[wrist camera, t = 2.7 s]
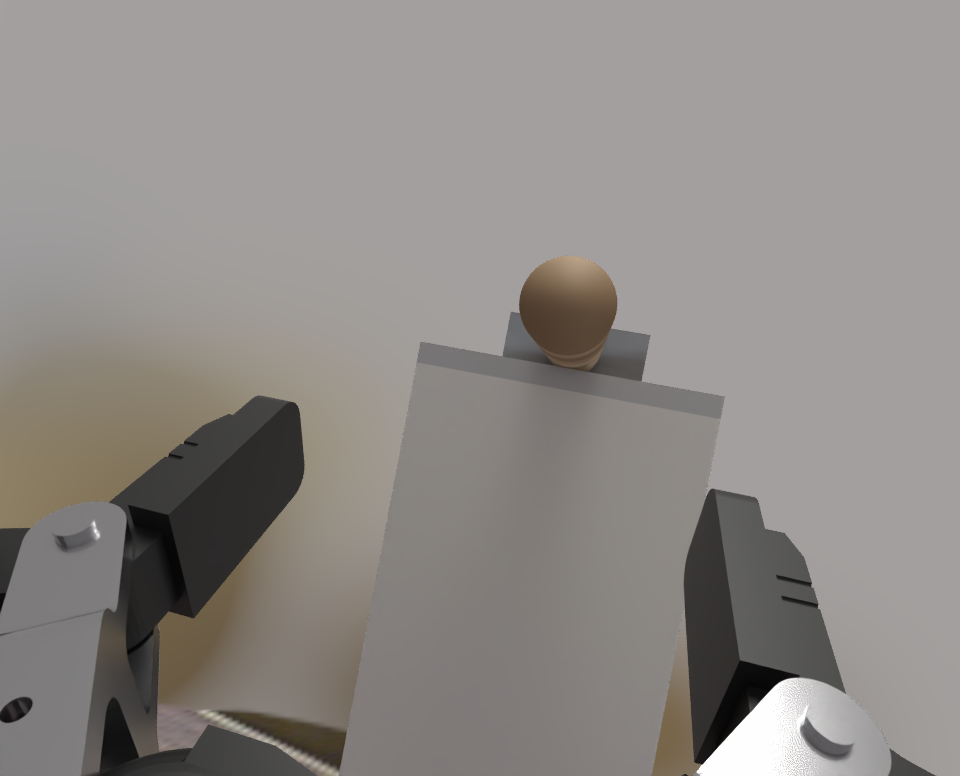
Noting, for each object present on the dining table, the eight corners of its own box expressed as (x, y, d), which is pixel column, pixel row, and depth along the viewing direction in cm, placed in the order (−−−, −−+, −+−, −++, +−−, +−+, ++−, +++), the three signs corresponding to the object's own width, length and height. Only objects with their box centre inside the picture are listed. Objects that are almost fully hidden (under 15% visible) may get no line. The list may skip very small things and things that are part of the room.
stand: (297, 994, 29) (420, 341, 29) (380, 822, 41) (467, 359, 40) (587, 1106, 27) (724, 396, 26) (585, 889, 38) (680, 398, 38)
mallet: (691, 375, 18) (710, 276, 18) (435, 330, 19) (452, 238, 19) (632, 389, 39) (641, 343, 39) (511, 367, 40) (519, 322, 40)
